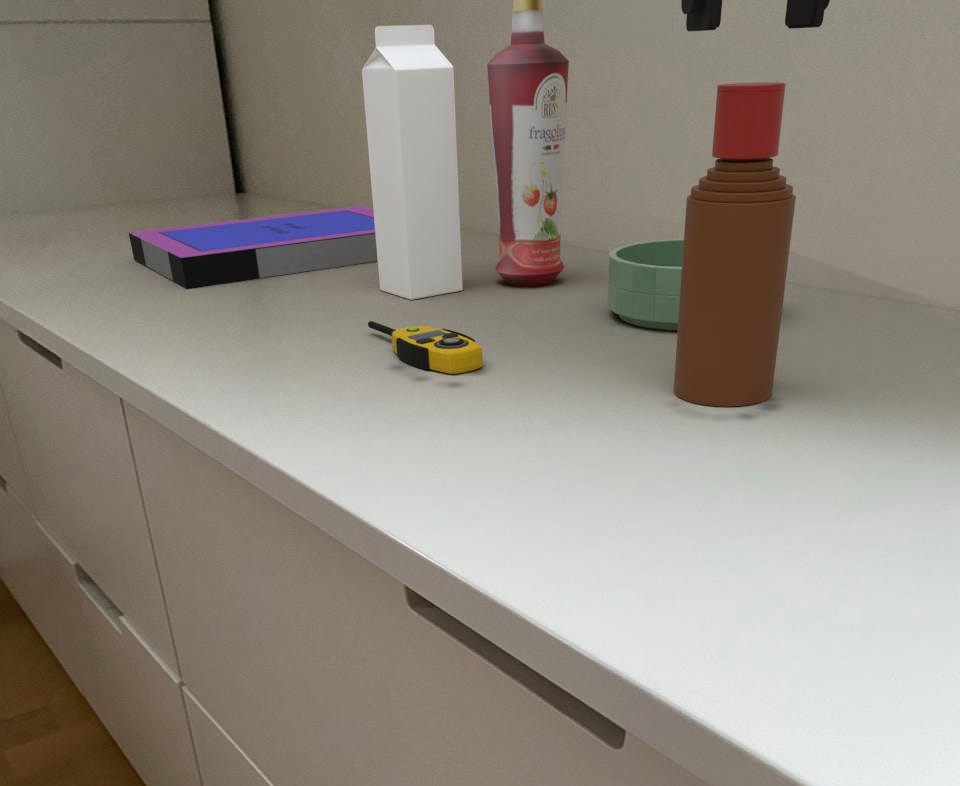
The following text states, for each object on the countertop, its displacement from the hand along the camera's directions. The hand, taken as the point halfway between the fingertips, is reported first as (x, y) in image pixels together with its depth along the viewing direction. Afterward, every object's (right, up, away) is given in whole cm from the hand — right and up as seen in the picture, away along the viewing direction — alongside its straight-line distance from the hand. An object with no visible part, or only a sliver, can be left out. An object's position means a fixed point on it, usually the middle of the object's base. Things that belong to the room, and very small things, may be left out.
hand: (753, 25), depth 55 cm
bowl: (+2, -6, +29) cm, 30 cm away
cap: (0, -6, +3) cm, 7 cm away
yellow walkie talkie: (-20, -12, +22) cm, 32 cm away
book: (-38, +11, +60) cm, 72 cm away
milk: (-21, 0, +41) cm, 46 cm away
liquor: (-10, +1, +43) cm, 44 cm away
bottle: (+1, -18, +11) cm, 21 cm away
